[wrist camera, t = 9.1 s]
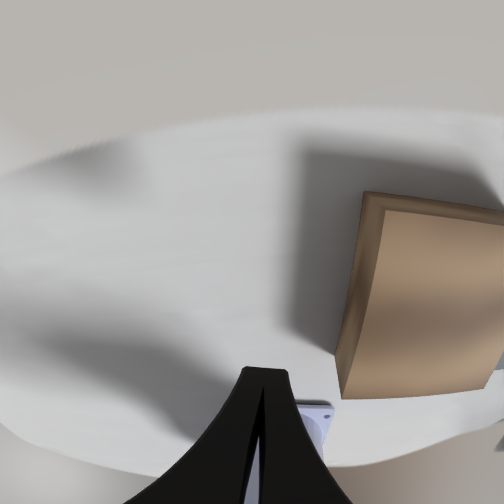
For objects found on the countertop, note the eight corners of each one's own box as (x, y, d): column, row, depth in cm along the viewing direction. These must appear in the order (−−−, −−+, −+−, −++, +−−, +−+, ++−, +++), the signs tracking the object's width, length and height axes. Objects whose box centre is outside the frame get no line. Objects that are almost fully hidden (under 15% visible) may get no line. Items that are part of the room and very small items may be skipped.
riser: (463, 353, 20) (483, 388, 16) (334, 356, 20) (341, 399, 17) (508, 213, 15) (545, 233, 12) (363, 191, 16) (385, 210, 13)
